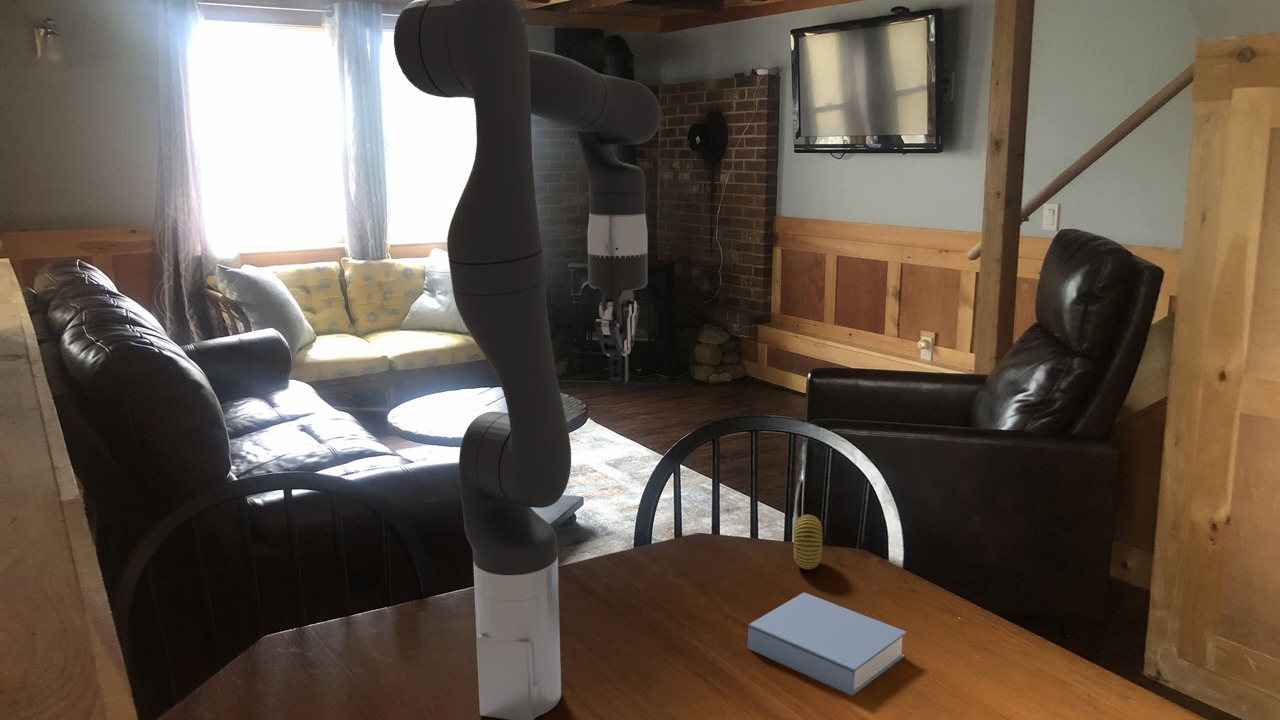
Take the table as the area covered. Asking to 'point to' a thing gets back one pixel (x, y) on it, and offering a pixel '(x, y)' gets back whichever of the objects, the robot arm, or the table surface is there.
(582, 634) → the table surface
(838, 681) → the book
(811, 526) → the sculpture
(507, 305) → the robot arm
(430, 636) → the table surface
